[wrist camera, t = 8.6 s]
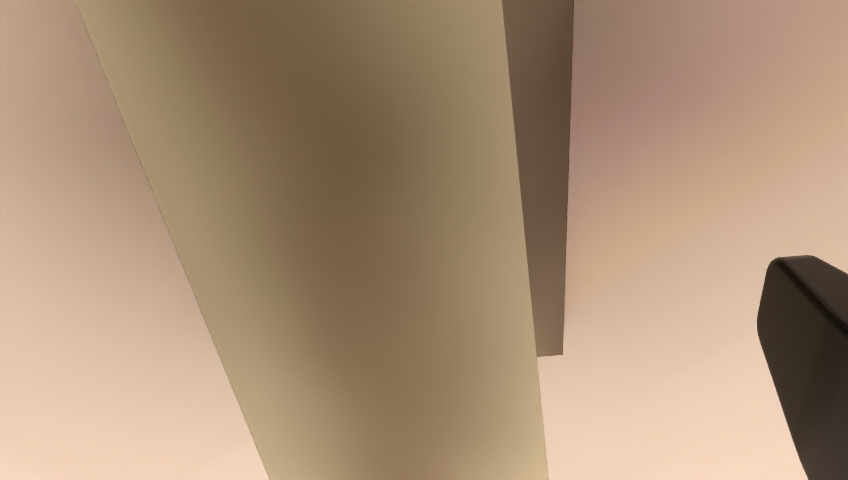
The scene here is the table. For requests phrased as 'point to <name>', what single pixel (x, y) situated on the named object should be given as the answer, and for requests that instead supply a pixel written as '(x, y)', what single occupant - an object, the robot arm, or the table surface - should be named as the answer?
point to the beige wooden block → (344, 223)
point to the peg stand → (542, 149)
